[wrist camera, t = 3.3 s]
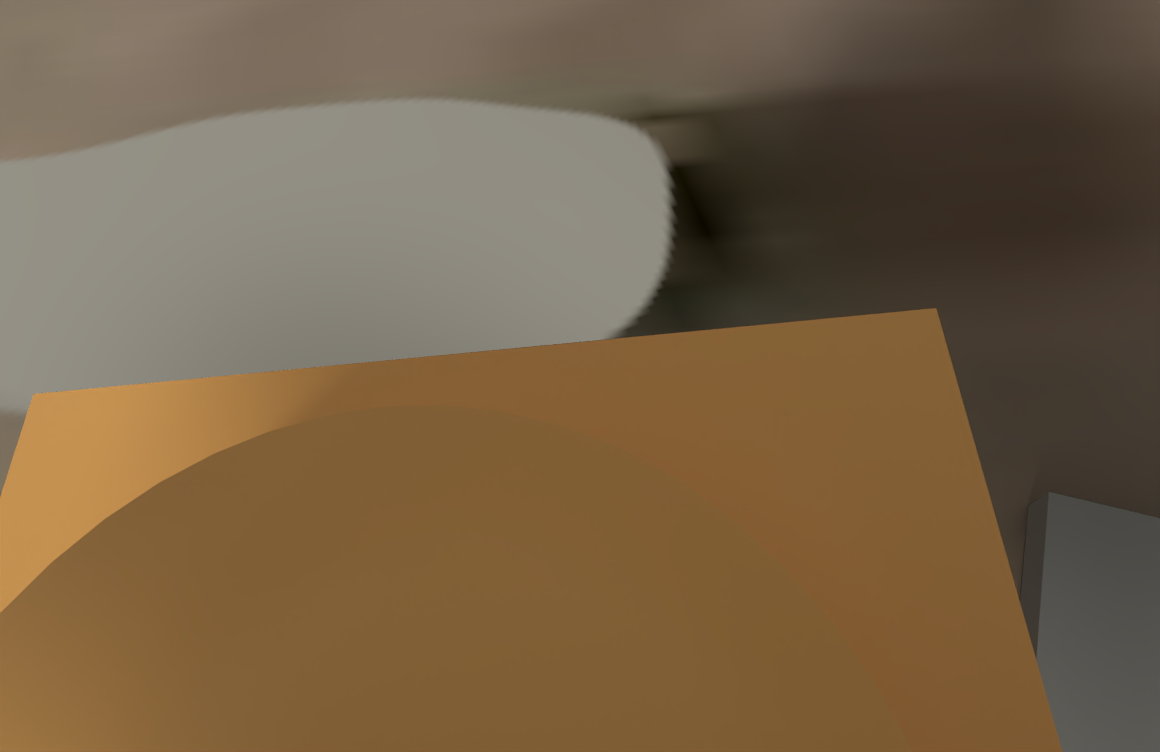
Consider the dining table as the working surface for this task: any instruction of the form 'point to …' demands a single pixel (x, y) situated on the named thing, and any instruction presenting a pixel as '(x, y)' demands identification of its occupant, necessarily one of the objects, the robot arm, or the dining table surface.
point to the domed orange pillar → (522, 555)
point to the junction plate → (1095, 621)
